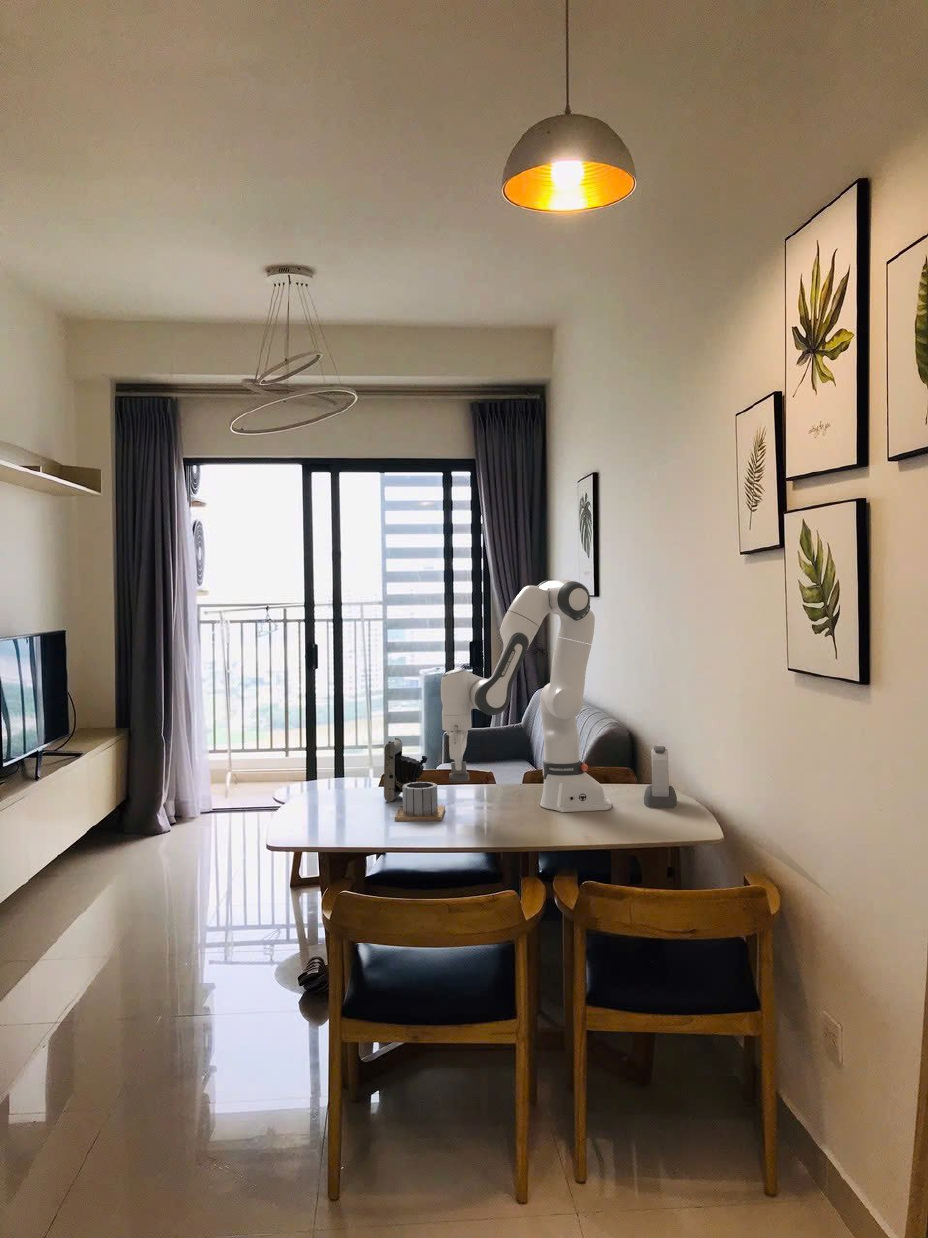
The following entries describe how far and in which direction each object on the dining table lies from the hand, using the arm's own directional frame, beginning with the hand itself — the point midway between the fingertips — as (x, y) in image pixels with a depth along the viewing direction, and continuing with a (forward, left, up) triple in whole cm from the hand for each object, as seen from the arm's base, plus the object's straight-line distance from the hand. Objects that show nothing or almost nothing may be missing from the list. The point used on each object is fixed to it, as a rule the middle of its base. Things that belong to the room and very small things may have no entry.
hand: (459, 768), depth 267 cm
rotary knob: (0, 0, -4) cm, 4 cm away
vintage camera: (+18, -26, -15) cm, 35 cm away
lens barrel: (+12, -4, -15) cm, 20 cm away
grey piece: (-63, -18, -15) cm, 67 cm away
